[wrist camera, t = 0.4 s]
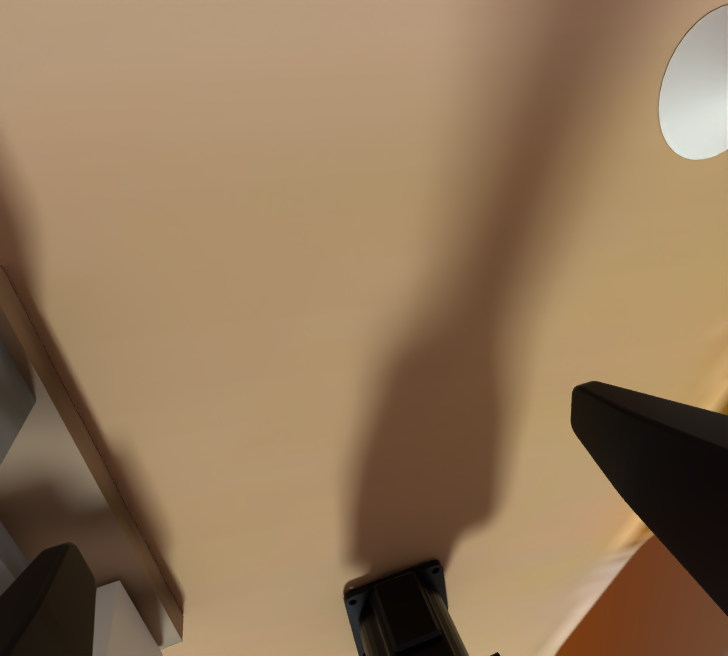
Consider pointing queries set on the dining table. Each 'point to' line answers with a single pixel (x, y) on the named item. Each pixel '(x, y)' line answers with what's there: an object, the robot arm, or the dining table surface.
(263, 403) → the dining table surface
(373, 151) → the dining table surface
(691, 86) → the champagne flute
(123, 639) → the carriage
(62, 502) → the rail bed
